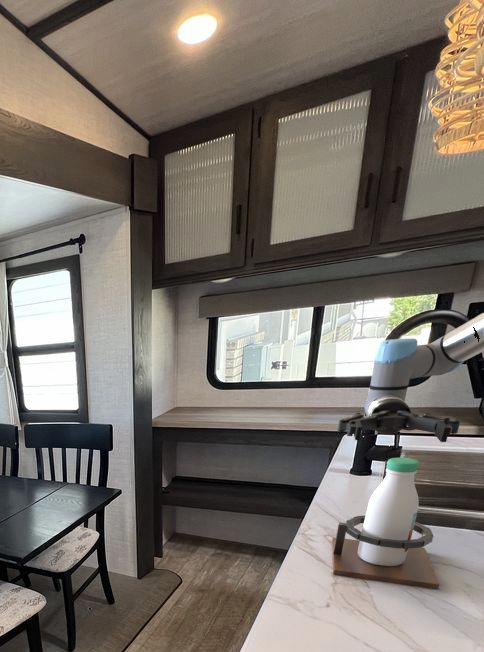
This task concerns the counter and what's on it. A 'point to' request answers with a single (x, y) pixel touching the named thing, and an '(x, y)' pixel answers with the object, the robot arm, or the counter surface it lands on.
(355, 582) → the counter surface
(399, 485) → the milk bottle
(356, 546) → the ring holder
